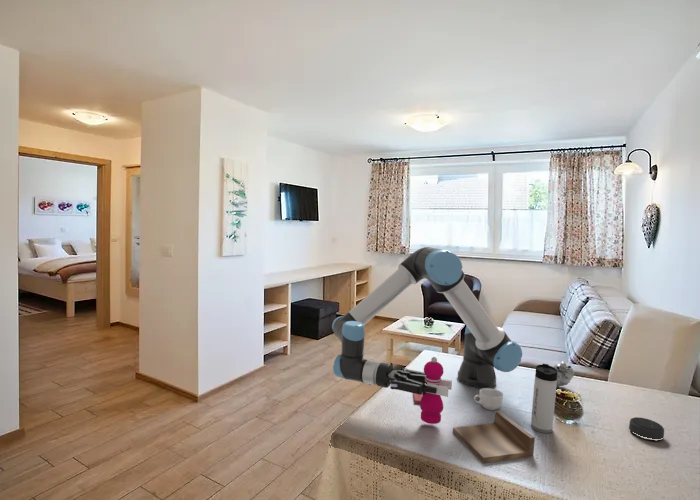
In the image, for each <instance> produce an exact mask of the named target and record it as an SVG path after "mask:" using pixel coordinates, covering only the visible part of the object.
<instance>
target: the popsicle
mask: <svg viewBox="0 0 700 500" xmlns="http://www.w3.org/2000/svg"><path fill="white" fill-rule="evenodd" d="M412 394H413V403H414V404H415V405H420V401H421V398H422V396H423V393H422V394H421V395H419V394H415V393H412Z"/></svg>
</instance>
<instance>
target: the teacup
mask: <svg viewBox="0 0 700 500" xmlns="http://www.w3.org/2000/svg"><path fill="white" fill-rule="evenodd" d="M476 398H479V401H478V400H476ZM503 398H504V393H503V392H502V391H500V390H498V389H495V388H492V387H490V388H479V393H478V394H476V395H474V396H473V400H474V401H475V403H477V404H480V405H481V407H483V408H484V409H486V410H489V411H498V410H499V409H500V408H501V406H502V405H503Z"/></svg>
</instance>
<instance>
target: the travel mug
mask: <svg viewBox="0 0 700 500" xmlns="http://www.w3.org/2000/svg"><path fill="white" fill-rule="evenodd" d="M557 372H558V371H557V369H555V368H554V366H552V365H549V363H548V364H547V363H542V364H537V365H536V366H535V373H534V385H533V395H532V405H531V406H532V409H531V419H530V426H531V428H532V429H533V430H534V431H536V432H539V433H542V434H548V433H550V434H551V433H552V432H553V427H554V417H555V406H556V405H555V404H556V393H557V386H556V385H557Z"/></svg>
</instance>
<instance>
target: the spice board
mask: <svg viewBox="0 0 700 500" xmlns="http://www.w3.org/2000/svg"><path fill="white" fill-rule="evenodd" d="M452 433H453V434H454V435H455V436H456V437H457V438H458V439H459V441H461V443H463V444H464V445H465V446H466V448H468V449H469V450H470V451H471V452H472V454H474V455H475V456H476V457H477V458H478V459H479V460H480V462H481V463H482V464H485V462H487V463H493V461H495V462H500V461H508V460H516V459H522V458H524V459H525V458H530V457H534V452H535V451H534V450H535V440H536V437H535V436H534V435H533V434H531V433H530V432H529V431H527V430H526V429H525V428H523V427H521V426H520V425H519V424H517V423H516V421H514V420H513V419H511V418H510V417H509V416H507V415H506V414H504V413H503V412H502V411H501V410H494V418H493V422H492V423H482V424H474V425H465V426H463V425H462V426H454V427H452Z"/></svg>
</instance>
